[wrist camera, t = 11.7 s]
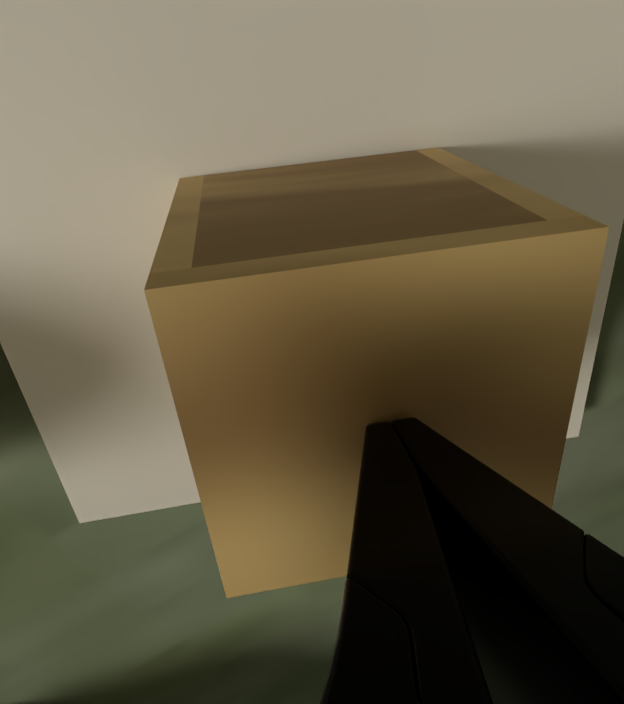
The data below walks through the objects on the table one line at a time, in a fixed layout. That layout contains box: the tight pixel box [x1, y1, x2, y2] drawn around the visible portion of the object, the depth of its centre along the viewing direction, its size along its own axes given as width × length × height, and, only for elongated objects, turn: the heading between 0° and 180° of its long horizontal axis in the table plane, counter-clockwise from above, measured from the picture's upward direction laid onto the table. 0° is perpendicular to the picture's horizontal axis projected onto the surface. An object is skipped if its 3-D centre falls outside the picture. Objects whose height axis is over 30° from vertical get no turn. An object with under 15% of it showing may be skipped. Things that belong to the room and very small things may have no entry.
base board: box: [0, 0, 624, 523], centre depth 14 cm, size 15×18×6 cm
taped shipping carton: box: [144, 148, 609, 598], centre depth 12 cm, size 7×7×7 cm
